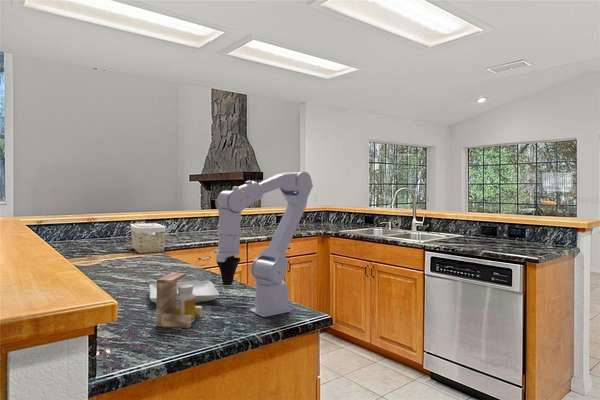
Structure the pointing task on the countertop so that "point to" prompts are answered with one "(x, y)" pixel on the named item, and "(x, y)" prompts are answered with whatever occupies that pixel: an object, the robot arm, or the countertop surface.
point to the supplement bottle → (185, 301)
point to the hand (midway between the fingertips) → (227, 284)
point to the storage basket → (148, 237)
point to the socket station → (171, 303)
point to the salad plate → (200, 289)
